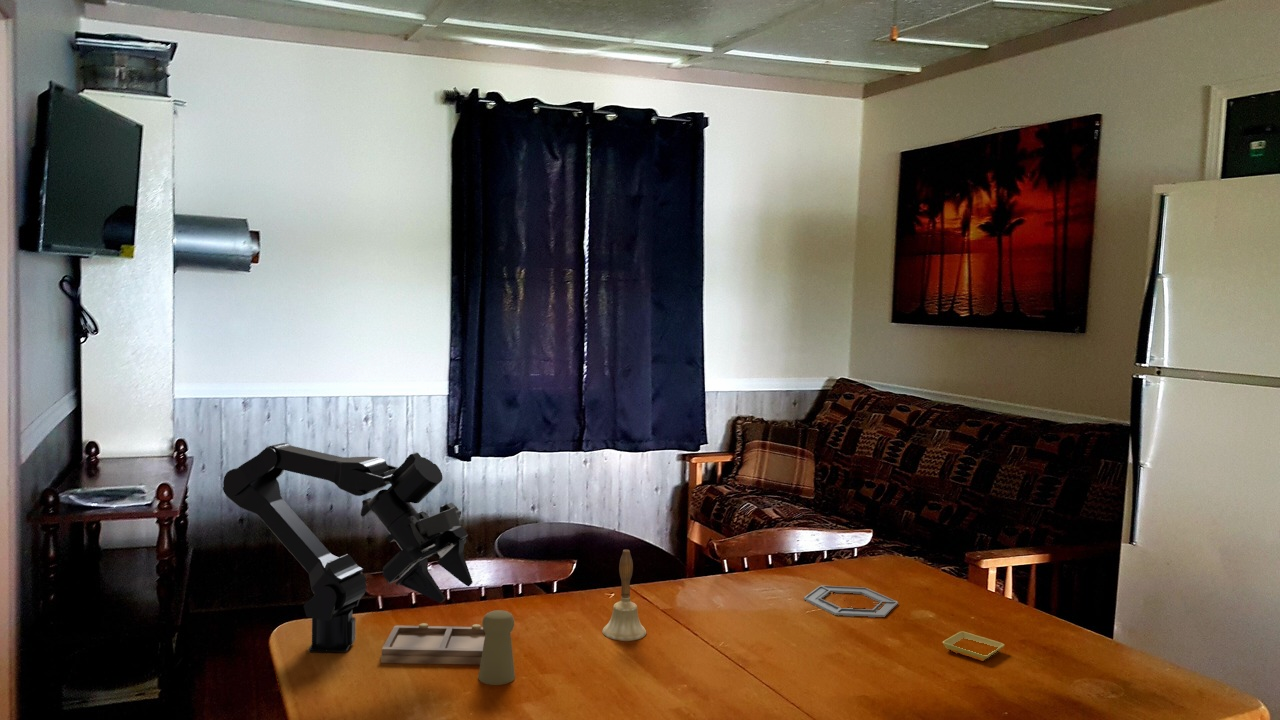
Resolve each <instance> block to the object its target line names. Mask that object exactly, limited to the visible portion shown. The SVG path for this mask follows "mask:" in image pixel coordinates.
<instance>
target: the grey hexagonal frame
mask: <svg viewBox="0 0 1280 720" xmlns="http://www.w3.org/2000/svg"><path fill="white" fill-rule="evenodd" d="M831 592H835V593H834V594H844V593H853V594H852V595H861V594H862V595H861V596H863V595H864V597H865V596H867V597H866V598H868V597H869V598H868V599H870V598H871V599H870V600H872V599H873V601H874V600H875V602H876V601H878V602H877V603H879V602H880V603H879V604H876V606H874V607H873V608H872V609H871V608H870V609H869V608H866V609H853V608H841V607H840V606H838V605H836V604H834V603H832V602H830V601H827V600H825V598H826V597H827V596H828V595H830V594H829V593H831ZM825 596H826V597H825ZM824 597H825V598H824ZM822 598H823V599H822ZM804 600H806V601H808V602H810V603H811V605H812V606H815V605H816V606H815V607H817V606H818V607H817V608H819V607H820V608H819V609H821V608H822V609H821V610H823V609H824V610H823V611H825V610H826V611H825V612H827V611H828V612H827V613H829V612H830V613H829V614H831V613H832V614H831V615H833V614H834V615H833V616H835V615H838V616H837V617H840V616H839V615H843V616H842V617H854V616H868V617H867V618H875V617H885V616H886V615H887V614H888V613H889V612H890V611H891V610H892V609H893V608H894V607H895V606H896V605H897V604H898V605H899V601H897V600H895V599H892V598H890V597H888V596H886V595H883V594H881V593H879V592H877V591H875V590H872V589H870V588H867V587H859V586H840V585H839V586H837V585H818V586H817V587H816V588H815V589H814V590H812V591H811V592H809V593H808V594H807V595H805V596H803V601H804ZM806 601H805V602H806ZM808 602H807V603H808ZM810 603H809V604H810ZM882 603H886V604H882ZM880 605H881V606H882V605H884V606H883V607H882V608H881V607H880ZM898 605H897V606H898ZM897 606H896V607H897ZM878 607H879V608H878ZM896 607H895V608H896ZM880 608H881V609H880ZM895 608H894V609H895ZM877 609H880V610H877ZM894 609H893V610H894ZM893 610H892V611H893ZM892 611H891V612H892ZM875 612H876V613H875ZM891 612H890V613H891ZM890 613H889V614H890ZM889 614H888V615H889ZM888 615H887V616H888ZM887 616H886V617H887Z"/></svg>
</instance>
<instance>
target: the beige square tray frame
mask: <svg viewBox="0 0 1280 720" xmlns="http://www.w3.org/2000/svg"><path fill="white" fill-rule="evenodd" d="M963 638H964V639H968V640H973V641H976V642H979V643H984V644H987V645H990V646H994V647H998V648H997V649H996V650H994V651H992V652H991V653H989V654H988V655H982V654H979V653H976V652H973V651H970V650H966V649H963V648H960V647H957V646H954V645H953V644H955V643H956V642H958V641H960V640H961V639H963ZM942 645H944V647H945V648H946V649H947V650H948V649H951V650H955V651H958V652H962V653H965V654H969V655H972V656H975V657H979V658H982V659H986V658H988V657H990V656H991V655H993V654H994V653H996V652H997V651H999V650H1000V649H1001V650H1002V649H1003V648H1004V647H1005V643H1002V642H1001V641H997V640H994V639H990V638H987V637H984V636H981V635H977V634H973V633H971V632H966V631H958V632H956V633H955V634H953V635H952V636H950V637H948V638H946V639H945V640H943V641H942ZM1001 650H1000V651H1001ZM1000 651H999V652H1000ZM997 653H998V652H997ZM997 653H996V654H997ZM994 655H995V654H994ZM994 655H993V656H994ZM991 657H992V656H991ZM991 657H990V658H991ZM988 659H989V658H988Z"/></svg>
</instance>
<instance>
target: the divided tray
mask: <svg viewBox="0 0 1280 720" xmlns="http://www.w3.org/2000/svg"><path fill="white" fill-rule="evenodd" d="M481 625H482V624H478V623H475V624H472V625H471V626H445V625H444V626H443V625H442V626H441V625H429V624H428V623H425V622H423V623H420V624H418V625H394V626H393V628H392V630H391V631H390V633H389V635H388V637H387V639H386V640H385V643H384V644H383V646H382V648H381V655H380V663H381V664H421V665H422V664H426V665H427V664H429V665H431V664H434V665H479V666H480V663H481V657H482V651H483V645H484V639H485V631H484V630H483V626H481Z"/></svg>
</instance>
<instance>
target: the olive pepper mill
mask: <svg viewBox="0 0 1280 720" xmlns="http://www.w3.org/2000/svg"><path fill="white" fill-rule="evenodd" d="M481 625H482V626H481V627H483V630H484V631H485V639H484V645H483V651H482V657H481V663H480V665H479V671H478V678H477V679H478V680H479V682H481V683H482V684H486V685H489V686H501V685H506V684H510V683H511V682H513V681H514V680H515V678H516V675H515V674H516V673H515V665H514V663H515V662H514V654H513V644H512V643H513V642H512V635H511V634H512V631H513V629H514V626H515V618H514V616H513V614H512V613H511V612H509V611H507V610H501V609H498V610H497V609H496V610H492V611H488V612H487V613H486V614H485V615H484V616H483V618H482V623H481Z"/></svg>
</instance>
